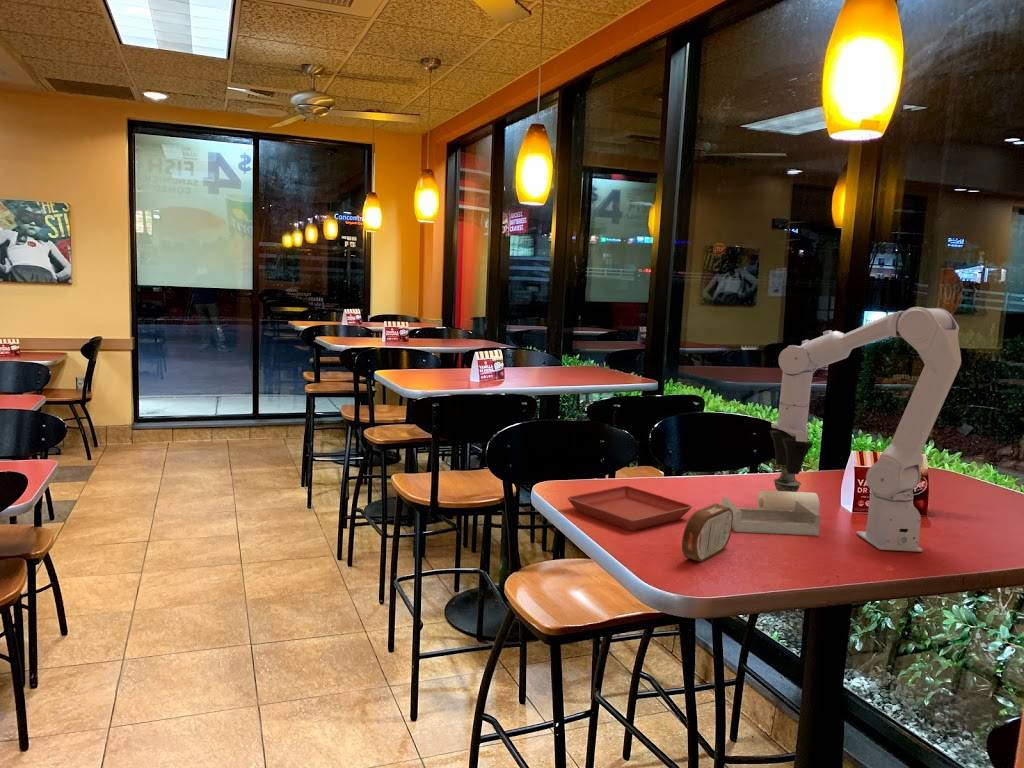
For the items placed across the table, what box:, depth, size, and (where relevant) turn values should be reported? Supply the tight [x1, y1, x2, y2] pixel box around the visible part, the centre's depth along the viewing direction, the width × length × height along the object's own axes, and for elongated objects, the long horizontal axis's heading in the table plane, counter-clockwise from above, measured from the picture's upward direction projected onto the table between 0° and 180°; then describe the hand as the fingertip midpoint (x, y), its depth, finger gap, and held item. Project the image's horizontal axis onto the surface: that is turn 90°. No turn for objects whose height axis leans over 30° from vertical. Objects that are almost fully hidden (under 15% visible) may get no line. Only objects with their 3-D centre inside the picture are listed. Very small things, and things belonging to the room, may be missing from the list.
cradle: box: [720, 496, 821, 537], centre depth 150 cm, size 10×16×4 cm, turn 91°
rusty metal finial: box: [773, 465, 802, 492], centre depth 173 cm, size 6×6×12 cm
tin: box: [681, 503, 733, 563], centre depth 131 cm, size 15×3×8 cm, turn 141°
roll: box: [757, 489, 821, 514], centre depth 159 cm, size 5×12×5 cm, turn 91°
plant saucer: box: [567, 485, 693, 531], centre depth 153 cm, size 18×18×3 cm
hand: (787, 469), depth 159 cm, fingers open, 7 cm apart
